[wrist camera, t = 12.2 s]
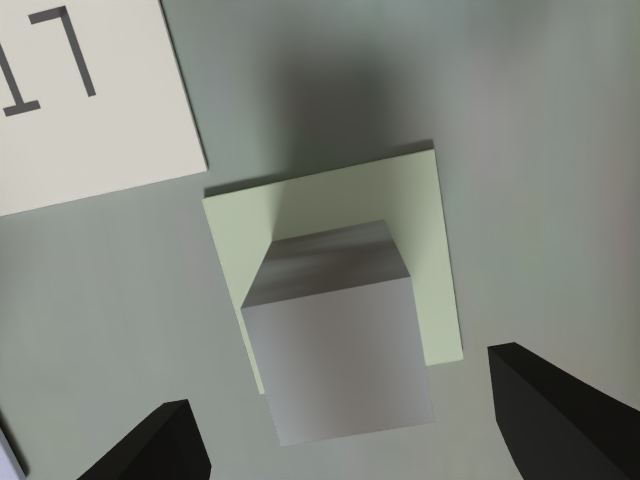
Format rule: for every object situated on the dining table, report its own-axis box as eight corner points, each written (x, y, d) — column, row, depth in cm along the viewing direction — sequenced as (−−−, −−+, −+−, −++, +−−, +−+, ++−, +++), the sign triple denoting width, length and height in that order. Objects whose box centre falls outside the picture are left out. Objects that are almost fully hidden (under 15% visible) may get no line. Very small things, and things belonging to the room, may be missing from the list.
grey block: (296, 340, 18) (280, 446, 12) (271, 241, 17) (239, 308, 11) (402, 321, 18) (435, 422, 12) (383, 219, 17) (410, 276, 11)
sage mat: (261, 389, 19) (260, 393, 19) (203, 197, 17) (201, 199, 17) (461, 355, 19) (463, 359, 18) (432, 148, 16) (434, 149, 16)
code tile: (-27, 221, 17) (-31, 223, 17) (-155, -57, 15) (-161, -59, 14) (208, 170, 16) (206, 170, 16) (120, -136, 14) (116, -140, 14)
